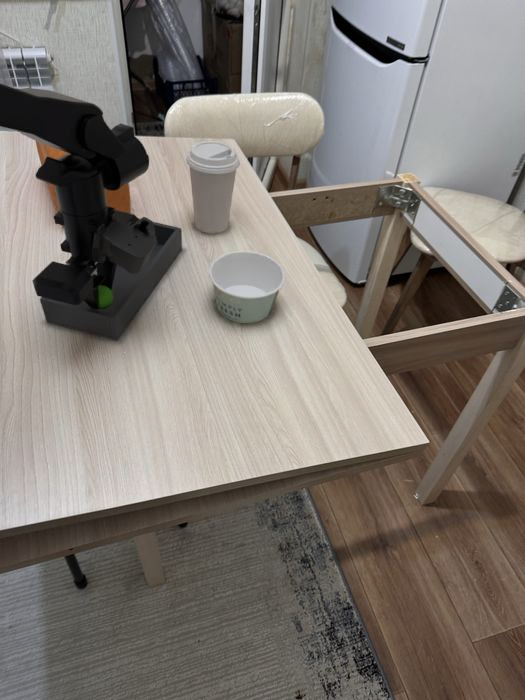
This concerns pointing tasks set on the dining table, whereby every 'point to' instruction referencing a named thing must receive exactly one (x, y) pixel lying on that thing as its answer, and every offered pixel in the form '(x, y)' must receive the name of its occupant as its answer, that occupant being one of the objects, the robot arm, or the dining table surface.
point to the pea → (104, 297)
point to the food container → (246, 285)
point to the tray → (120, 292)
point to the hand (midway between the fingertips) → (101, 301)
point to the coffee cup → (212, 184)
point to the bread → (114, 198)
